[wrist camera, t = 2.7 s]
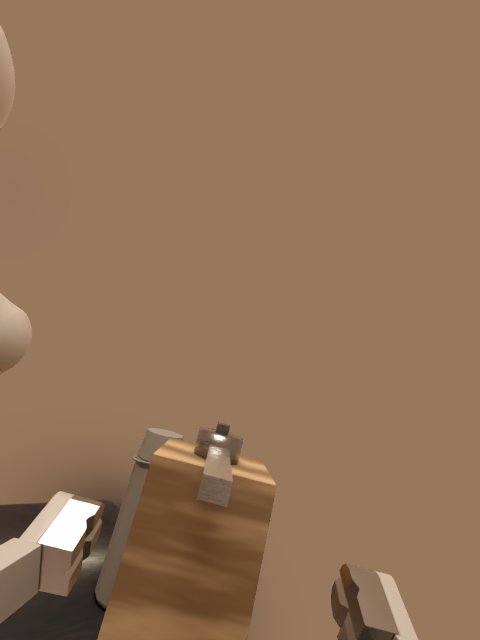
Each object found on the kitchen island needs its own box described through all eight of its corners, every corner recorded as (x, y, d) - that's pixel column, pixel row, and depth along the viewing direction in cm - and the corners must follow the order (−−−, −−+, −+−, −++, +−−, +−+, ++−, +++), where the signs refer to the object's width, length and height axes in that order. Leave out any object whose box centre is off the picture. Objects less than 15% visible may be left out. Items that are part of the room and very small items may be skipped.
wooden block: (214, 808, 25) (276, 485, 32) (58, 768, 25) (152, 454, 32) (216, 677, 37) (261, 461, 44) (109, 650, 37) (171, 437, 44)
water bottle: (150, 605, 46) (194, 440, 52) (102, 623, 41) (157, 437, 47) (124, 570, 52) (166, 427, 59) (79, 582, 47) (131, 423, 53)
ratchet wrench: (250, 512, 22) (262, 455, 23) (173, 493, 22) (189, 436, 23) (236, 458, 41) (243, 427, 42) (195, 447, 41) (203, 417, 42)
